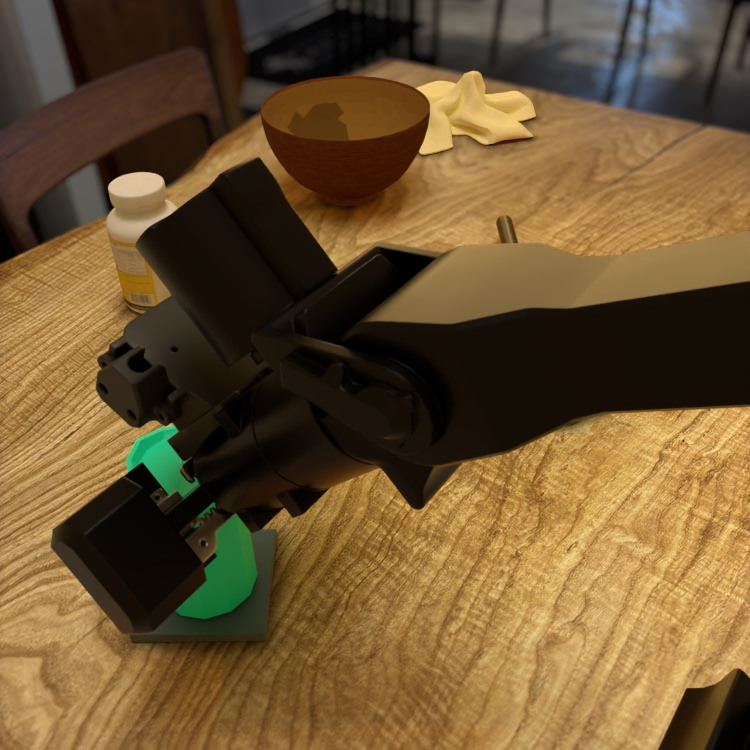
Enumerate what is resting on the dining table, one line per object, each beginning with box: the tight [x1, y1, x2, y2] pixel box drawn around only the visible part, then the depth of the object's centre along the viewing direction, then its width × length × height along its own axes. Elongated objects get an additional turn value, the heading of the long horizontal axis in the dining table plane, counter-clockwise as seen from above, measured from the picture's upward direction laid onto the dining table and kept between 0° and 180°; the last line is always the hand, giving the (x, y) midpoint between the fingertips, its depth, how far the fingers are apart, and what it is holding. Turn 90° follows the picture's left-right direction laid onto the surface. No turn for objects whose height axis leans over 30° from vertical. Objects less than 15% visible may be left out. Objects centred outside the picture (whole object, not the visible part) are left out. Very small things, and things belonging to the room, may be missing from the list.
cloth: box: [414, 70, 537, 156], centre depth 108 cm, size 22×19×6 cm
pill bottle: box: [105, 171, 179, 315], centre depth 75 cm, size 6×6×12 cm
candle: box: [125, 425, 258, 619], centre depth 49 cm, size 6×6×12 cm
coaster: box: [128, 528, 278, 643], centre depth 53 cm, size 8×8×1 cm
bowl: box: [260, 75, 430, 207], centre depth 92 cm, size 18×18×10 cm
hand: (176, 495), depth 49 cm, fingers closed on candle, 5 cm apart
